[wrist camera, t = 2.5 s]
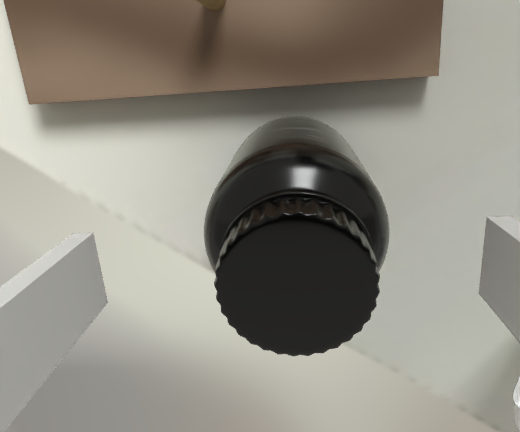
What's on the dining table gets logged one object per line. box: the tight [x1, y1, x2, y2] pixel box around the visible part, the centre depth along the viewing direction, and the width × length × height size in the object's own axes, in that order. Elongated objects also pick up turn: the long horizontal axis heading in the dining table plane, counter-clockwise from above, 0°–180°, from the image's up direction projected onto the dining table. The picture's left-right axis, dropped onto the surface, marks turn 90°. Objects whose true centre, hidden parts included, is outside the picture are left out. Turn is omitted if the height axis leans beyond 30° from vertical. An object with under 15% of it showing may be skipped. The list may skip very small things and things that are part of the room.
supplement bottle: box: [204, 117, 389, 356], centre depth 18 cm, size 7×7×12 cm
